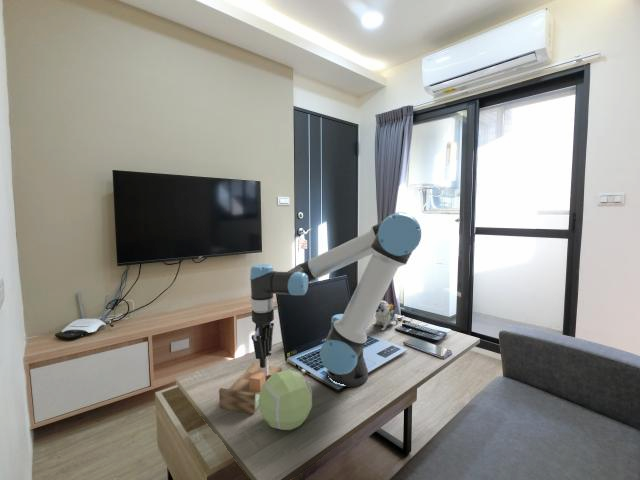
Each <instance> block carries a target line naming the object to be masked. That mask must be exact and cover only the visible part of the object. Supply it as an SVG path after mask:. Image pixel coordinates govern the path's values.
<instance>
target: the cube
mask: <svg viewBox="0 0 640 480" xmlns="http://www.w3.org/2000/svg"><path fill="white" fill-rule="evenodd" d="M265 382H266V378H265V373H261V372H254V373H253V374H252V375H251V376H250V377H249V389H251V390H257V391H261V389H262V386H263V384H264V383H265Z"/></svg>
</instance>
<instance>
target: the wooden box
mask: <svg viewBox="0 0 640 480" xmlns="http://www.w3.org/2000/svg"><path fill="white" fill-rule="evenodd" d="M281 371H283V368H282V367H281V366H274V365H269V374H268V376H265V378H266V380H267V379H268V378H270V377H271V376H272V375H273V374H275V373H278V372H281ZM254 372H260V363H252V364H250V366H249V367H248V368H247V369H246V370H245V372H243V374H242V375H240V377H239V378H238V379H236V381H234V383H233V384H232V385H231V386H230V387H229V388H224V387H223V388H222V387H220V388H219V390H218V395H219V396H218V397H219V408H220V409H225V410H232V411H237V412H242V413H249V414H253V415H254V414H256V412H258V410H259V396H260V391H257V390H251V389H249V377H250V376H251V375H252V374H253V373H254Z"/></svg>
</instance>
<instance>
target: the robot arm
mask: <svg viewBox="0 0 640 480" xmlns="http://www.w3.org/2000/svg"><path fill="white" fill-rule="evenodd" d="M421 239H422V229H421V226H420V223H419V222H418V220H417V219H416V218H415V217H414V216H412V215H410V214H408V213H405V212H395V213H390V214H389V215H388V216H386V217H385V218H384V220H381V221H380V222H378V223H377V224H374V225H373V226H371V228H370V230H369V231H367V232H365V233H363V234H361V235H359V236H356V237H354V238H352V239H350V240H348V241H346V242H344V243H342V244H340V245H338V246H336V247H334V248H331V249H330V250H327V251H325V252H322V254H319V255H317V256H315V257H313V258H310V259H309V260H306V261H304V262H301V263H299V264H297V265H295V267H293V268H291V269H289V270H287V271H275V270H274V268H273V265H272V264H268V263H265V264H264V263H260V264H259V263H258V264H255V265H252V266H251V268H250V278H249V280H250V297H251V298H250V303H251V321H252V322H253V323H254V324H255V328H254V332H255V333H254V334H252V335H251V338H250V339H251V340H252V342H253V349H254V355H255V359H257V360H259V365H260V372H261V373H265V376H268V374H269V366H270V364H269V363H270V361H269V356H270V357H271V356H272V352H271V351H272V348H273V347H272V345H273V334H274V333H273V332H274V325H275V323H274V322H273V321H274V319H275V314H274V313H275V311H274V306H275V301H274V295H289V296H305V295H306V293H307V292H308V290H309V283H311V282H314V281H316V280H317V279H320V278H322V277H324V276H326V275H328V274H331V273H333V272H335V271H337V270H340V269H342V268H344V267H347V266H349V265H351V264H353V263H355V262H357V261H359V260H362V259H364V258H367V257H368V256H371V257H370V259H369V261H368V263H367V266H366V268H365V270H364V272H363V273H362V276H361V278H360V279H359V282H358V284H357V285H356V288H355V290H354V292H353V293H352V296H351V298H350V300H349V302H348V304H347V306H346V308H345V310H344V313H339V314H338V313H337V314H335V315H333V316H331V321H330V323H331V329H330V330H329V333H328V335H327V336H326V339H325V340H324V343H323V344H322V345H321V348H320V352H319V356H320V360H321V362H322V365H323V366H324V368H325V369H326V370H327V371H326V372H327V374H328V376H329V378H331V379H332V380H333V381H335V382H337V383H340V384H344V385H346V388H347V387H348V388H350V387H351V388H352V387H354V388H355V387H357V386H361V385H363V384H365V383H366V382H367V380H368V378H369V371H368V367H367V364H366V360H365V358H364V357H365V356H364V347H365V345H366V344H367V343H366V342H367V341H368V336H367V334H366V331H367V329H368V328H369V326H370V324H371V322H372V320H373V318H374V317H375V314H376V313H375V312H376V310H377V308H378V306H379V304H380V302H381V301H383V298H384V296H385V295H386V292H387V291H388V289H389V287H390V285H391V284H392V281H393V279H394V277H395V275H396V273H397V271H398V269H399V268H400V267H402V266H406V265H407V264H408V263H407V262H408V261H409V259H410V257H411V255H412V253H413V251H414V250H416V249H417V248H418V246H419V244H420V242H421ZM328 376H327V377H328Z"/></svg>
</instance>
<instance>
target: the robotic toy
mask: <svg viewBox="0 0 640 480" xmlns="http://www.w3.org/2000/svg"><path fill="white" fill-rule="evenodd" d="M395 307H396V308H398V306H396V305H394V304H393V303H388V302H387V301H386V300H381V302H380V304H379V306H378V308H377V310H376V312H375V314H374V317H375V322H374V323H373V326H374V327H375V326H377V325H381V326H382V328H381V329H380V330H381V331H385V330H386V329H387V326H390V325H391V323H392V322H395V324H396V326H397V325H399V320H398V318H396V317H397V316H396V313H397V311H396V310H395V309H394V308H395ZM398 314H400V311H398Z"/></svg>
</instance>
